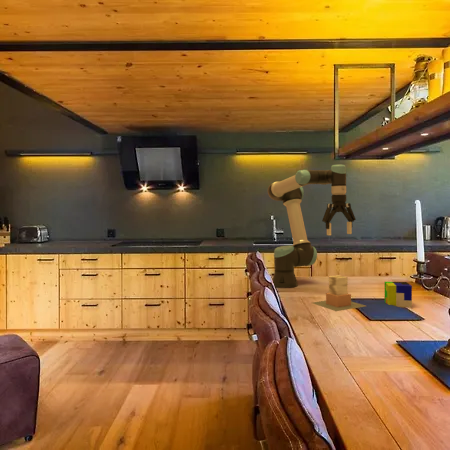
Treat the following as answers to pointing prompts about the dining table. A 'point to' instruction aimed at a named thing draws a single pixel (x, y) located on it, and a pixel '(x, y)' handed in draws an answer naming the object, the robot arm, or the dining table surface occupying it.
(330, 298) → the base block
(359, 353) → the dining table surface
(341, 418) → the dining table surface
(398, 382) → the dining table surface
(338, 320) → the dining table surface
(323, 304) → the olive square panel
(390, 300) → the puzzle toy
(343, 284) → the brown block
